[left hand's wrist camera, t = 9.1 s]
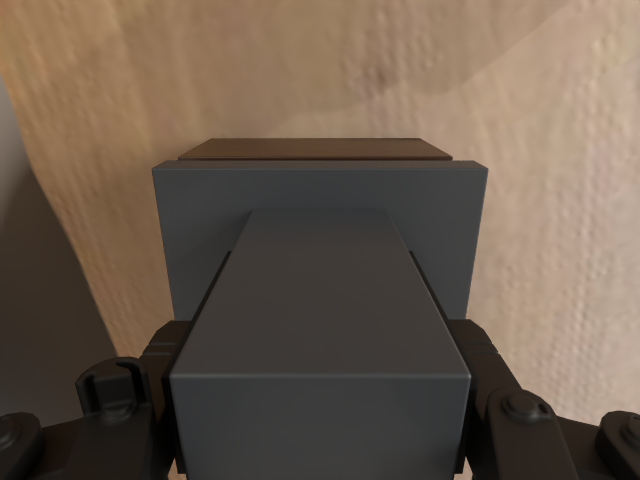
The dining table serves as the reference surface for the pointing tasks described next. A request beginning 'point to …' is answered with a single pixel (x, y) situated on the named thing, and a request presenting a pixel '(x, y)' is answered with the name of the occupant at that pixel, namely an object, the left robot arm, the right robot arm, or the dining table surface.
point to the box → (316, 150)
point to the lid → (320, 315)
